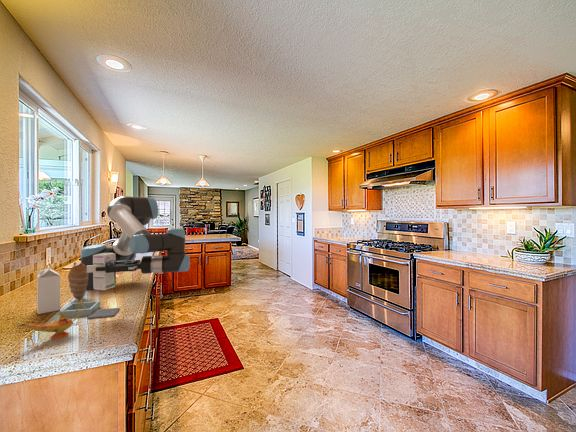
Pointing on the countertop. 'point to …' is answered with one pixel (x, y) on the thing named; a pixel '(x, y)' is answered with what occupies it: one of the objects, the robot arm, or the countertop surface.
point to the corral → (80, 309)
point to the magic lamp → (56, 325)
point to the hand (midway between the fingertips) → (91, 267)
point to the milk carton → (48, 291)
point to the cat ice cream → (78, 280)
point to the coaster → (103, 313)
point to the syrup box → (102, 278)
